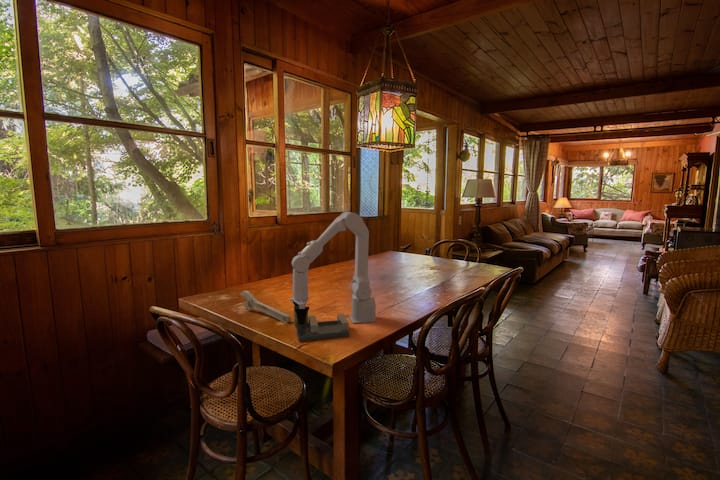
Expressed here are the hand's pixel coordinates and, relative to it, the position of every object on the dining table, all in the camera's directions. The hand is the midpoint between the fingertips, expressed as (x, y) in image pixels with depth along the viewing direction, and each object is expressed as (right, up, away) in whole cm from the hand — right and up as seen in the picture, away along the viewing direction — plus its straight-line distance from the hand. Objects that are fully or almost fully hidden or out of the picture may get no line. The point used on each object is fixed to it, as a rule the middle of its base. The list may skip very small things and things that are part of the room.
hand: (300, 320), depth 143 cm
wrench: (-17, 0, +12) cm, 21 cm away
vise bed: (+9, -3, -7) cm, 11 cm away
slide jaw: (+6, -2, -8) cm, 10 cm away
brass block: (0, -2, +1) cm, 2 cm away
